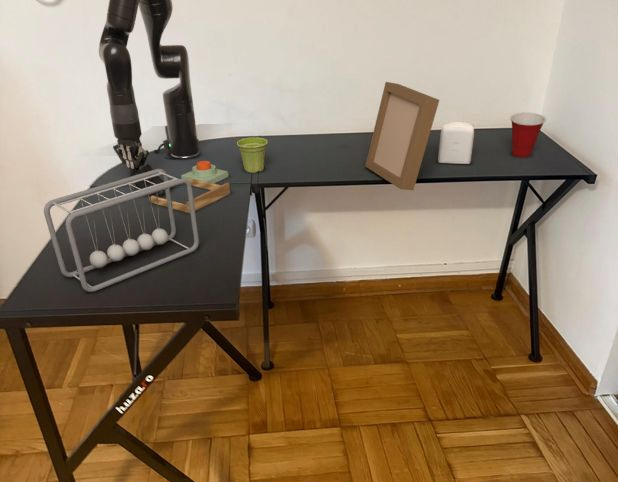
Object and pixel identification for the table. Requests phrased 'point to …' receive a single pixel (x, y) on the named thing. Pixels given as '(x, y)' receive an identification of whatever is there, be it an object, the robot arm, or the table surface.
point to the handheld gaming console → (154, 180)
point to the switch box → (206, 174)
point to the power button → (203, 165)
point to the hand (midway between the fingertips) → (135, 179)
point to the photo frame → (401, 134)
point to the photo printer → (456, 143)
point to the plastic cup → (525, 132)
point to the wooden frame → (201, 200)
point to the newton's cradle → (130, 245)
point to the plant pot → (252, 153)
